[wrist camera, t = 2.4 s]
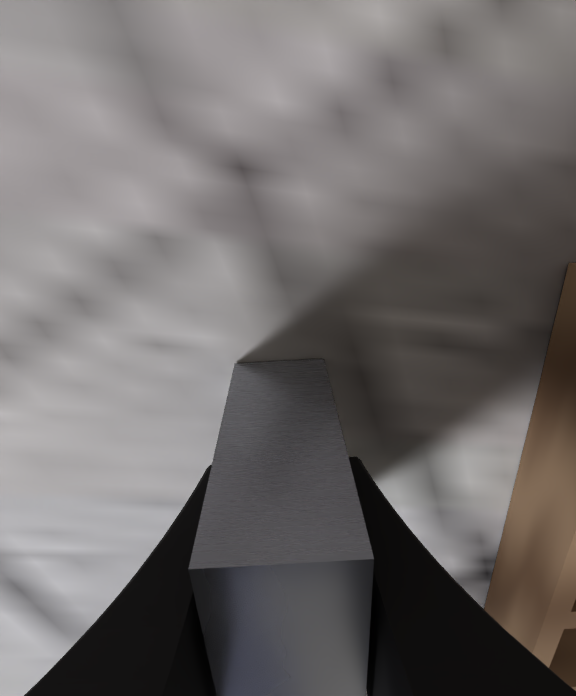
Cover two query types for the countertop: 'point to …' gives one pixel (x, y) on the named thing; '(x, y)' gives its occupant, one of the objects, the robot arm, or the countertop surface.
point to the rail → (545, 513)
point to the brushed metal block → (283, 542)
